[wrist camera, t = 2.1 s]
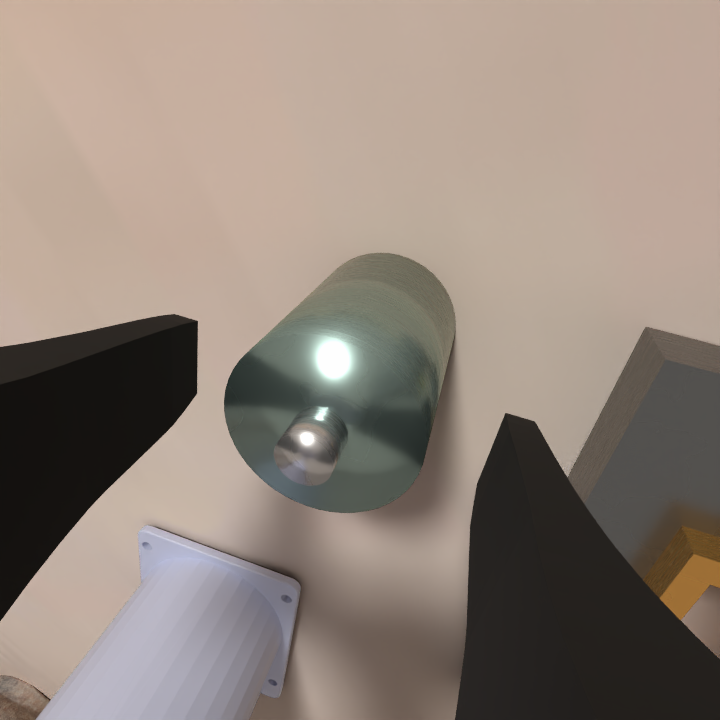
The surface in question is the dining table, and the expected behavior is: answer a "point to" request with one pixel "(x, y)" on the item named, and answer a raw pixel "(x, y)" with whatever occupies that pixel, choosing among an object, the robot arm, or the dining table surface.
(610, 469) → the grey square hole board
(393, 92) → the dining table surface
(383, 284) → the spout can
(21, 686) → the pottery
